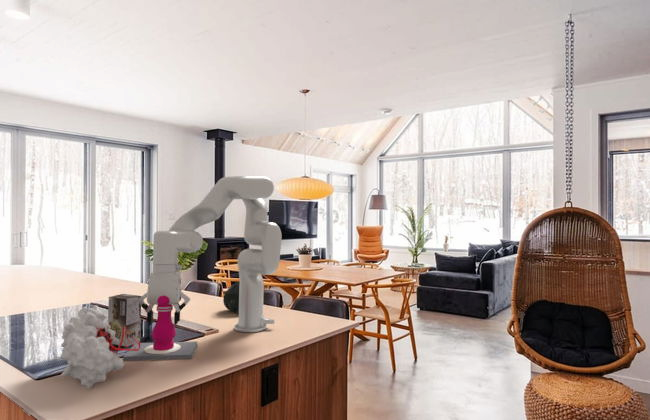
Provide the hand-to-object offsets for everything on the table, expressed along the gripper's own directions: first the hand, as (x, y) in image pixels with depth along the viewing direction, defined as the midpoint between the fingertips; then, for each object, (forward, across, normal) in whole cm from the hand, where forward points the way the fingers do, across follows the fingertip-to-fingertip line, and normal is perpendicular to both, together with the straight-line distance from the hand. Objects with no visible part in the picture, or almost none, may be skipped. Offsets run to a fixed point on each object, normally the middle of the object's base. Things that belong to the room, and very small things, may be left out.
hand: (163, 323), depth 137 cm
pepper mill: (+8, 0, 0) cm, 8 cm away
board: (+9, 0, 0) cm, 9 cm away
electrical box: (+10, +15, -12) cm, 21 cm away
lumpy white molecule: (+10, +14, +18) cm, 25 cm away
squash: (+10, -23, -58) cm, 63 cm away
